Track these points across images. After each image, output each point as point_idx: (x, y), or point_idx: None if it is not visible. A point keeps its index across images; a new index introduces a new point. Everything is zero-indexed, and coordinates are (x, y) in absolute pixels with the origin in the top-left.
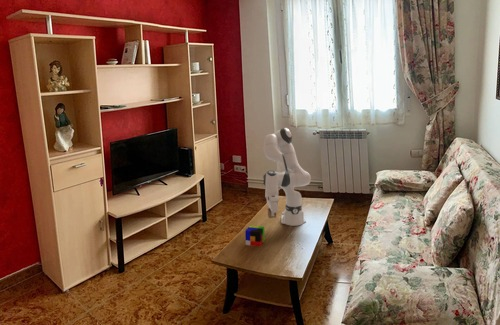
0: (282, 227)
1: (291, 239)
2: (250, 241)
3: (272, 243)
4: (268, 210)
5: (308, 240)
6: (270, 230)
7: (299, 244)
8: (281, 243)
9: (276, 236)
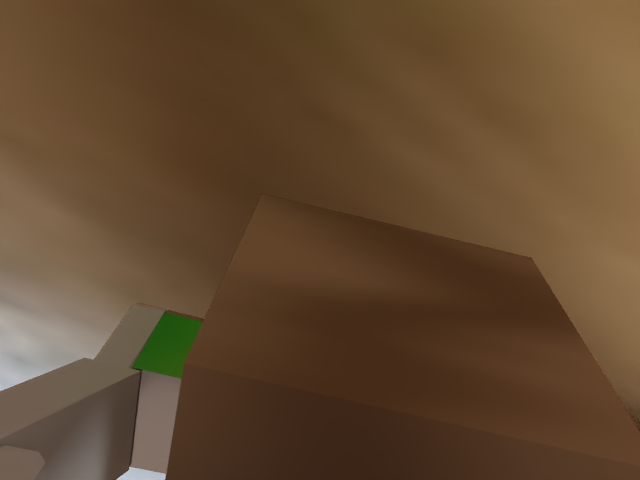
0: None
1: None
2: None
3: (119, 46)
4: (380, 384)
5: None
6: (594, 218)
7: (12, 357)
8: (88, 173)
9: (347, 209)
